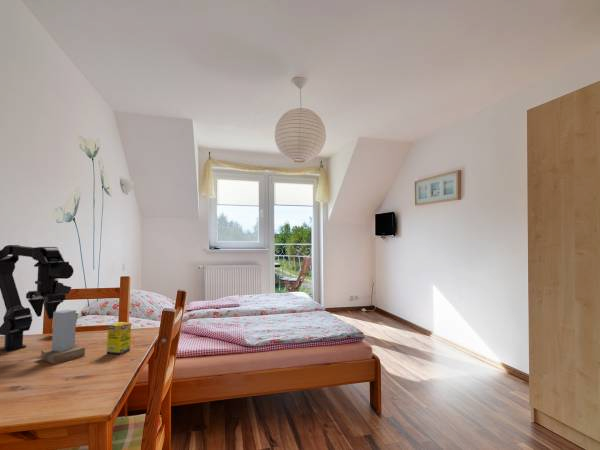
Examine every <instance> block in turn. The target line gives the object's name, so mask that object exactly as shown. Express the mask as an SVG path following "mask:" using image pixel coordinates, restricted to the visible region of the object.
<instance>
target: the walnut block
mask: <svg viewBox="0 0 600 450" xmlns="http://www.w3.org/2000/svg"><path fill="white" fill-rule="evenodd" d="M85 354H86V347H84V346H80V345H77V344H75V348H73V349H69V350H66V351H63V352H59V351H52V347H51V348H48V349H44V350H43V349H42V350H41V352H40V360H41V361H45V362H48V363H51V364H53V365H56V364H60V363H63V362H64V363H65V362H66V361H67V362H68V361H70V360H74V359H78V358H81V357H85V356H86V355H85Z"/></svg>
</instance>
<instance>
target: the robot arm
mask: <svg viewBox="0 0 600 450" xmlns="http://www.w3.org/2000/svg"><path fill="white" fill-rule="evenodd" d="M20 257H28V258H32V260H34V261H37V262H36V263H35V264H34V266H33V267H34V268H36V267H37V278H36V280H35V281H34V284H35V285H36V290H29V291H28V292H27V293H26V294H25V295H26V296H25V299H26V300H27V301H28V303H29V305H30V306H31V307H32V309H33V311H34V313H35V315H36V317H40V318H41V316H42V314H43V308H44V309H45V312H46V316H47V319H49V320H53V312H57V308H58V306H59V305H60V304H61V303H63V302H64V301H66V299H67V295H70V293H71V289H72V286H68V285H64V283H63V282H59V281H58V279H61V280H63V279H65V280H66V279H70V278H72V276H73V274H74V268H73V266H72V265H71V264H70V261H69V260H67V261H65V259H64V257H63V254H62V253H61V252H60V250H59V247H57V246H37V247H36V246H35V247H31V246H24V245H19V244H7V245H6V246H5V245H4V247H3V248H2V249H0V293H1V296H2V301H3V303H4V306H5V312H4V313H5V314H4V316H3V323H2V324H1V326H0V336H4V345H3V346H1V347H0V350H3V351H5V352H10V351H14V350H17V349H22V348H25V347H26V348H27V344H24V332H26V331H29V330H30V328H31V326H32V322H33V315H32V312H31V309H30V307H25V306H23V305H22V301H21V298H20V295H19V291H18V288H17V285H16V281H15V278H14V271H15V269H16V264H17V262H18V261H20V260H19V258H20Z"/></svg>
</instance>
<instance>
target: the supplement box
mask: <svg viewBox="0 0 600 450" xmlns="http://www.w3.org/2000/svg"><path fill="white" fill-rule="evenodd" d="M131 329H132V322H130V321H129V322H128V321H127V322H126V321H117V322H114V323H113V324H112V323H111V324H108V325H107V341H106V342H107V343H106V344H107V345H106V354H109V355H122V354H124V353H126V352H129V351H130V350H131V333H132V332H131V331H132V330H131Z"/></svg>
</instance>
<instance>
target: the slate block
mask: <svg viewBox="0 0 600 450" xmlns="http://www.w3.org/2000/svg"><path fill="white" fill-rule="evenodd" d="M76 313H77V310H76V309H63V310H56V311H55V312H53V318H52V338H51V348H52V351H59V352H63V351H66V350H69V349H73V348H75V345H76V327H77V322H76Z"/></svg>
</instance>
